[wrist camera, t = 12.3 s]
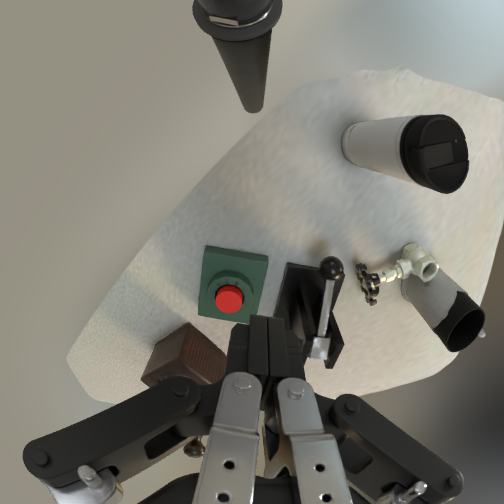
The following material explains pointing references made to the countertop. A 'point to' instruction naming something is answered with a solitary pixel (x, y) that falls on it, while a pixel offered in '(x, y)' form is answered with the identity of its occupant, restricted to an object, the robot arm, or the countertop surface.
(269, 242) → the countertop surface
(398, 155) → the travel mug
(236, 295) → the button
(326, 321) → the lever
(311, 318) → the bracket
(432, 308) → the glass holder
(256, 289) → the button block
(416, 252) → the valve
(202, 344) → the brown coffee grinder
